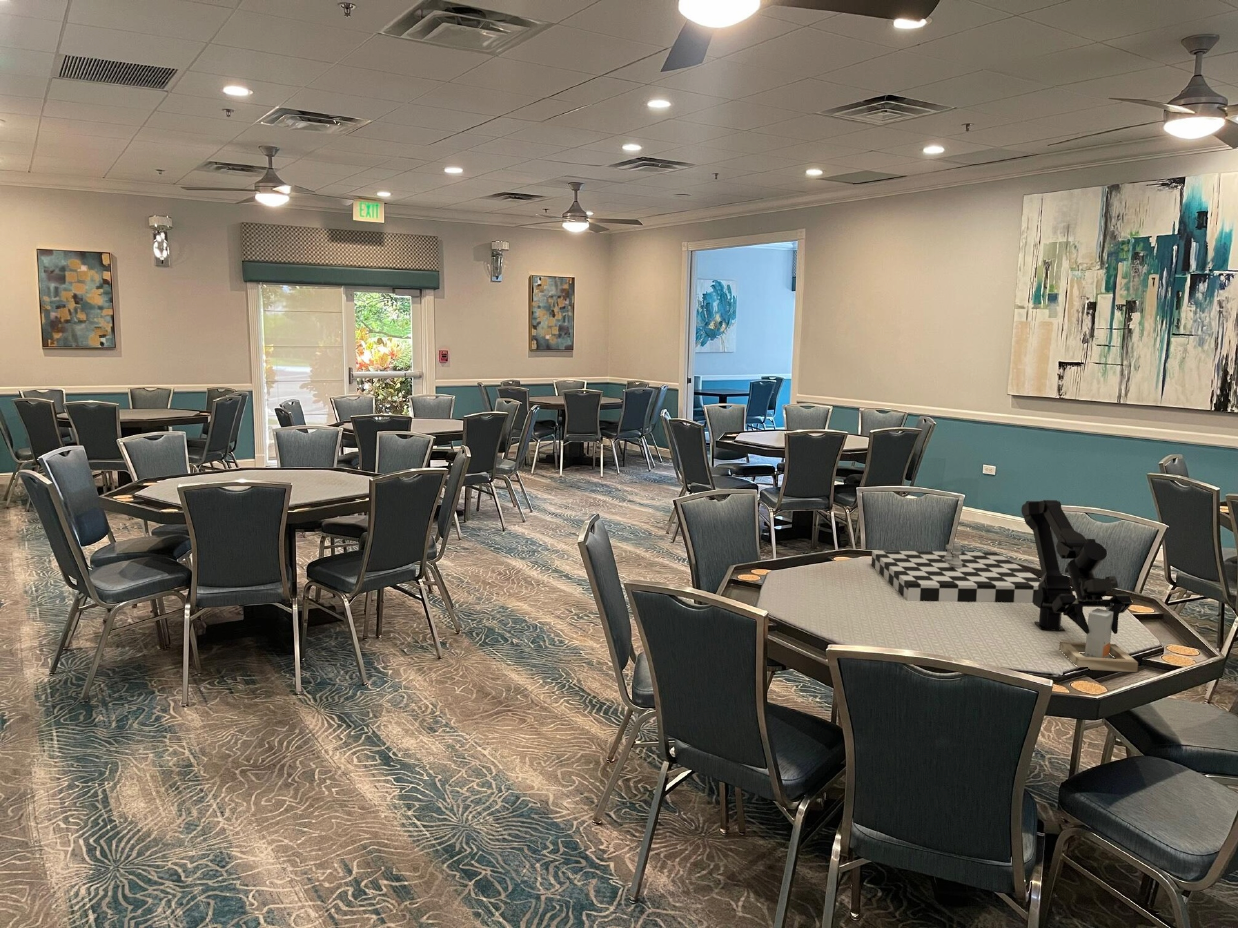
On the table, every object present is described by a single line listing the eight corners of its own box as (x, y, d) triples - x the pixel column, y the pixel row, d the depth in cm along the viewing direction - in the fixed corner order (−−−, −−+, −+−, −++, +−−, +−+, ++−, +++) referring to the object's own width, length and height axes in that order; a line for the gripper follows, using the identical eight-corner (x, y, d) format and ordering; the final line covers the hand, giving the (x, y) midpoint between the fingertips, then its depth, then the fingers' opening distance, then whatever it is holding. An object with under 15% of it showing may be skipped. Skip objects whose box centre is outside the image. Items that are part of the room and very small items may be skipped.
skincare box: (1101, 661, 231) (1106, 616, 229) (1084, 657, 234) (1088, 612, 232) (1109, 655, 235) (1114, 611, 233) (1092, 651, 238) (1096, 607, 236)
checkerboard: (1051, 604, 285) (1054, 558, 283) (907, 602, 286) (910, 556, 284) (995, 568, 330) (998, 528, 328) (871, 566, 331) (873, 527, 329)
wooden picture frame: (1058, 650, 242) (1059, 641, 242) (1114, 652, 240) (1115, 643, 240) (1078, 668, 228) (1079, 659, 228) (1137, 672, 226) (1138, 662, 226)
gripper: (1060, 564, 235) (1079, 618, 225) (1132, 564, 235) (1153, 619, 226) (1044, 585, 244) (1060, 638, 234) (1112, 585, 244) (1132, 638, 235)
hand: (1101, 633), depth 232 cm, fingers closed on skincare box, 7 cm apart
